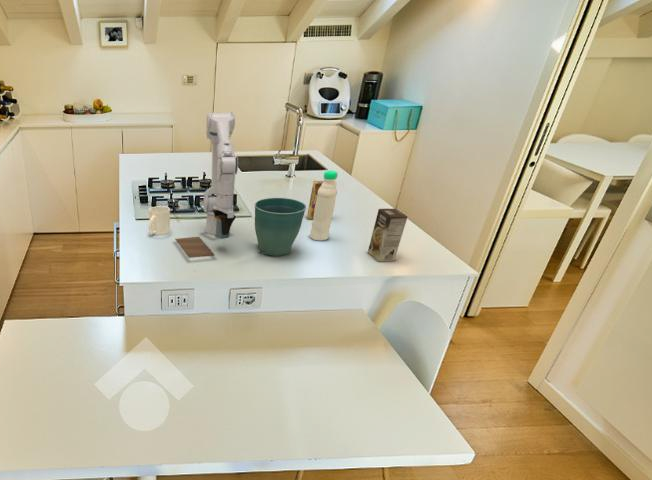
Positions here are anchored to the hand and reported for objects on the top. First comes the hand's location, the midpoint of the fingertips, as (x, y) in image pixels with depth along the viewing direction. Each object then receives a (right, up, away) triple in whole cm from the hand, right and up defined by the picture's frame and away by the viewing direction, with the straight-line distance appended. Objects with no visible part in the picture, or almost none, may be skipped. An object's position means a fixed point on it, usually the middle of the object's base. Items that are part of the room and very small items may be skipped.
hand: (222, 231), depth 185 cm
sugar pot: (0, -1, +1) cm, 2 cm away
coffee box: (+58, -9, 0) cm, 59 cm away
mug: (-23, +4, +21) cm, 32 cm away
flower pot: (+20, -6, +6) cm, 22 cm away
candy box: (+47, +16, +35) cm, 61 cm away
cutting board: (-10, -5, +7) cm, 13 cm away
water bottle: (+41, +2, +16) cm, 44 cm away
